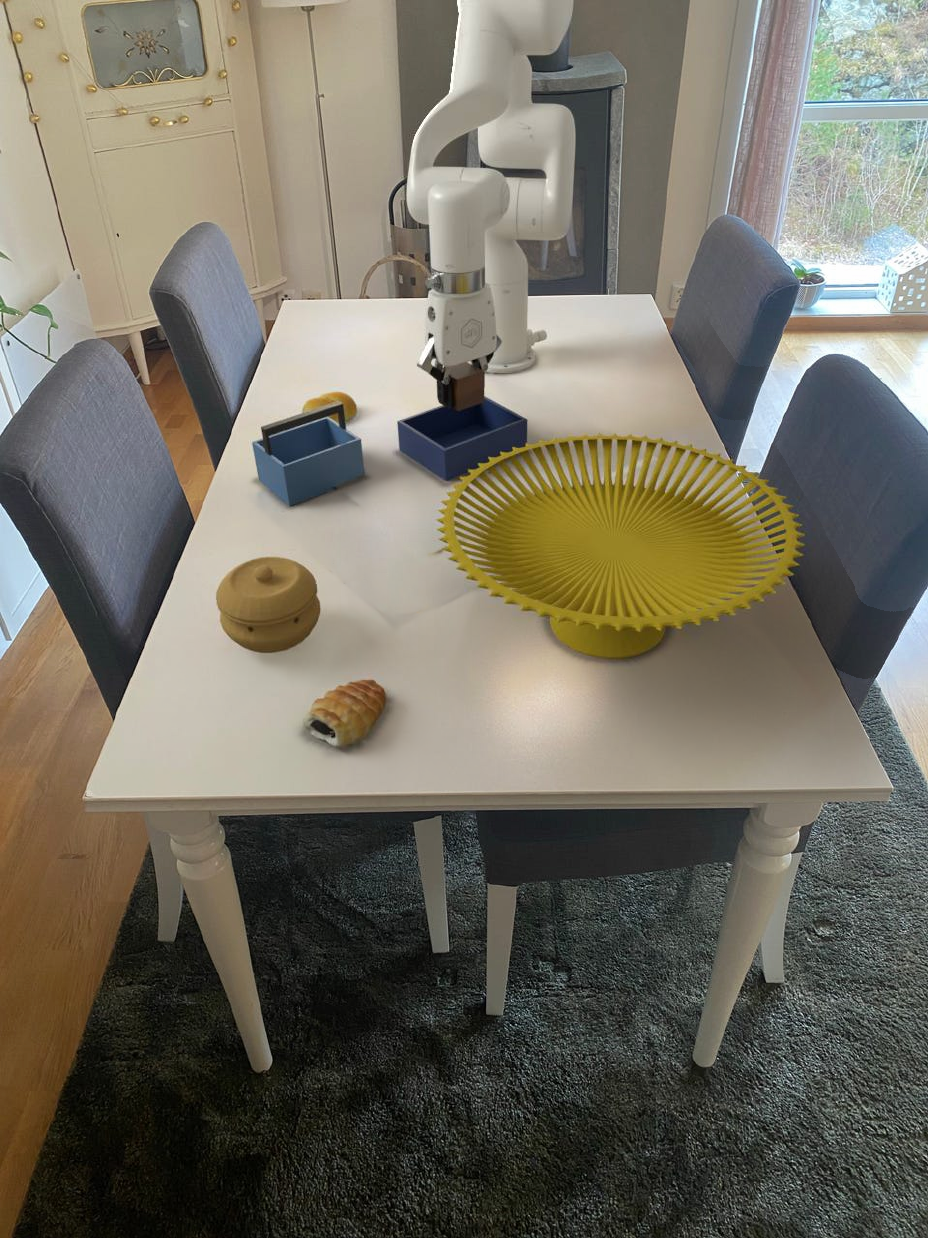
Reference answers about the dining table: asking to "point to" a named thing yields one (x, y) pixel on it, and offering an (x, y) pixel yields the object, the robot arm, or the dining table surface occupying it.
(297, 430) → the upper bin
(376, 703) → the pastry
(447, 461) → the lower bin
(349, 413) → the bread roll
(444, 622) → the dining table surface
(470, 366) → the block
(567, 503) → the yellow fruit bowl
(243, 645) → the pot
